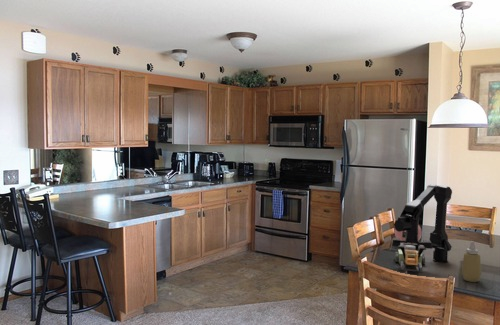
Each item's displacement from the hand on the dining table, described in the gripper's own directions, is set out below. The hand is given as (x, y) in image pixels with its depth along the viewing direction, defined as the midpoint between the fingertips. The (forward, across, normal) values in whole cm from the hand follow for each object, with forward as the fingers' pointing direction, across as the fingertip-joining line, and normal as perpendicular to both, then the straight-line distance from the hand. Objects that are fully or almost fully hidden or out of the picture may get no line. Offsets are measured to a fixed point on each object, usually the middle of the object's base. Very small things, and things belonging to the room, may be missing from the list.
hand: (411, 260), depth 213 cm
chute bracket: (+4, 0, +1) cm, 4 cm away
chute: (+1, 0, 0) cm, 1 cm away
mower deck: (+4, 0, -10) cm, 11 cm away
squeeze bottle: (+4, -25, +12) cm, 28 cm away
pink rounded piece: (+4, -1, -46) cm, 46 cm away
